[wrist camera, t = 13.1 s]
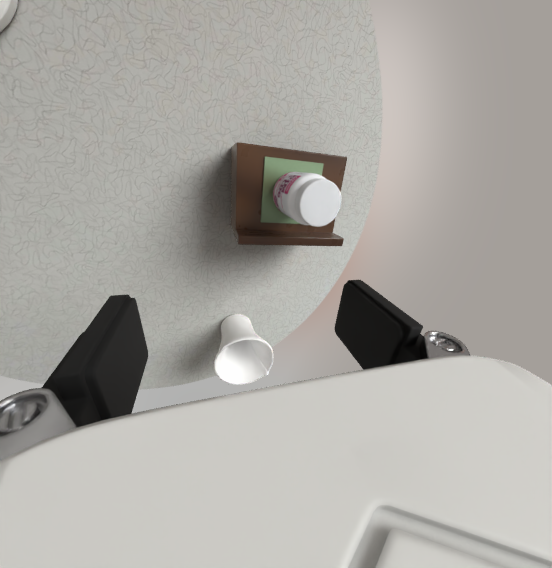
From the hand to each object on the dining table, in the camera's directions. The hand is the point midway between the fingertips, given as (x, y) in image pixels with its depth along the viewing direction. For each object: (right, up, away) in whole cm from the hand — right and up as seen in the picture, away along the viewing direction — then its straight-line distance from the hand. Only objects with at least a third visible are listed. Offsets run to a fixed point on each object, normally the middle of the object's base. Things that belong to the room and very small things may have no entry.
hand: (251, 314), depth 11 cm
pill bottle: (+3, +12, +17) cm, 21 cm away
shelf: (+1, +15, +23) cm, 28 cm away
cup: (-6, -6, +32) cm, 33 cm away
